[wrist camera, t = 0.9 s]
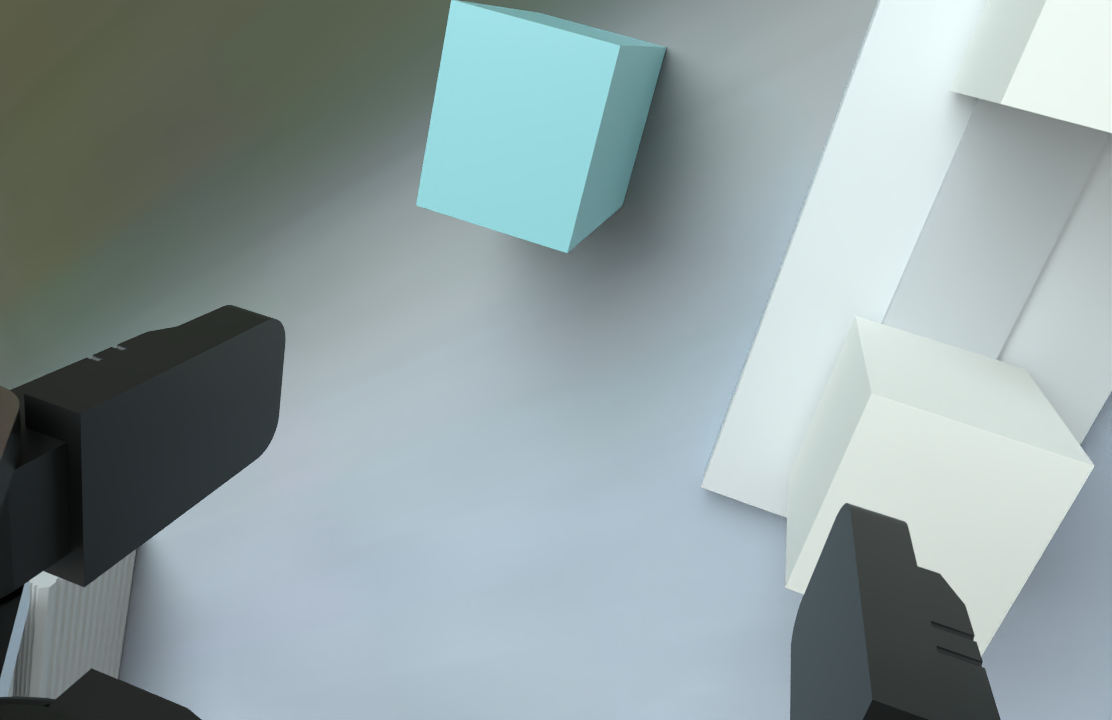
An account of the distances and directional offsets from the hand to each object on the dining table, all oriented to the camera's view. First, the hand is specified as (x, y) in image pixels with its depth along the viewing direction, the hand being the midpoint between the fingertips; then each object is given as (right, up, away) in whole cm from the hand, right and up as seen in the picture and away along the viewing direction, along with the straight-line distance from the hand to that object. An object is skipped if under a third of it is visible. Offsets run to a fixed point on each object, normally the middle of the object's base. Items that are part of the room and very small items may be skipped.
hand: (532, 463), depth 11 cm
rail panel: (+15, +6, +18) cm, 24 cm away
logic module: (+1, +11, +20) cm, 23 cm away
